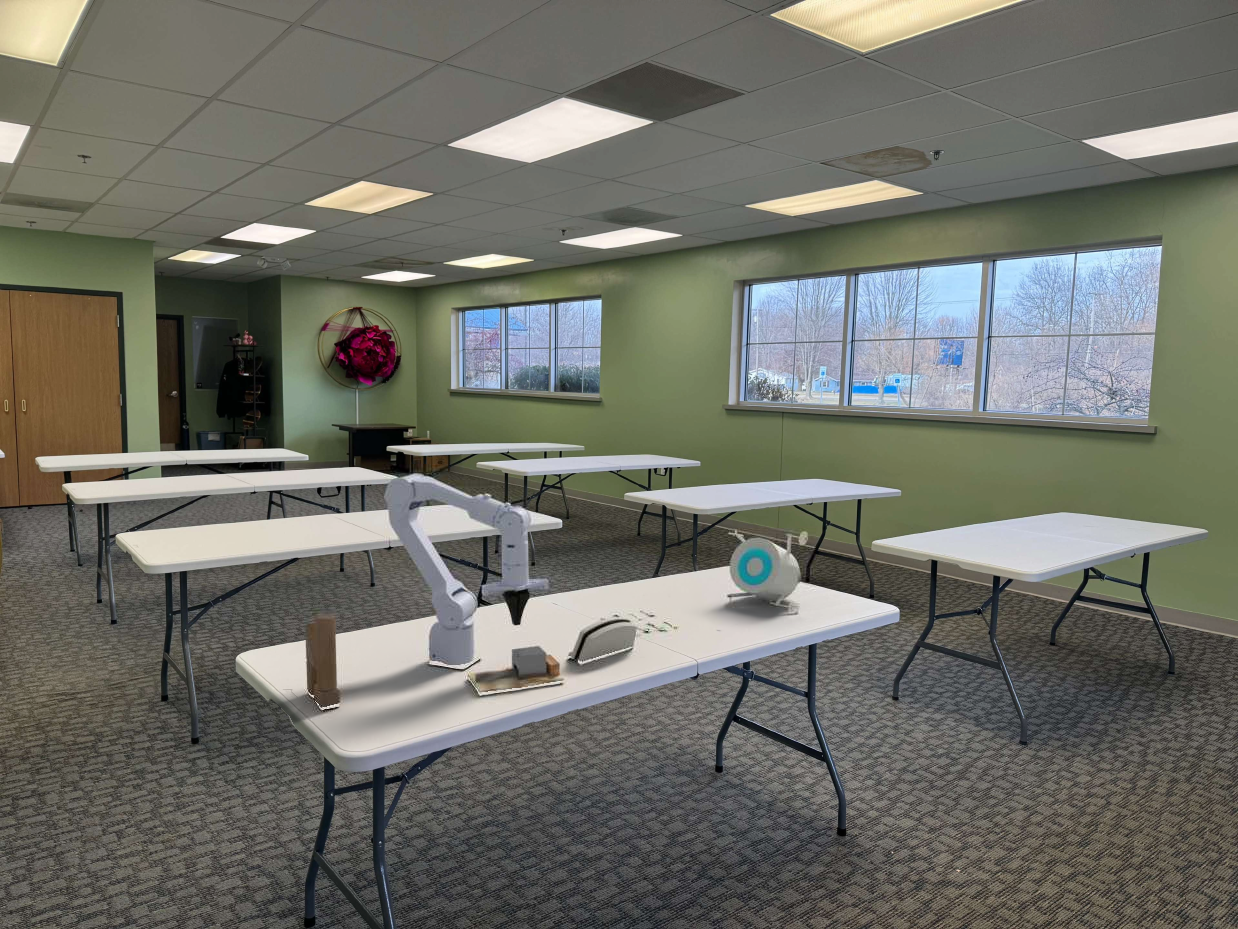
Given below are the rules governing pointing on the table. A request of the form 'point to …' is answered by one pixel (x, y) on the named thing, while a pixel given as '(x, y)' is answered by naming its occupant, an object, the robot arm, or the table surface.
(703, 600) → the table surface
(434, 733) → the table surface
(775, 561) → the satellite
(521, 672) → the clip
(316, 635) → the wooden block
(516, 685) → the rail
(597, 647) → the grey rounded block
